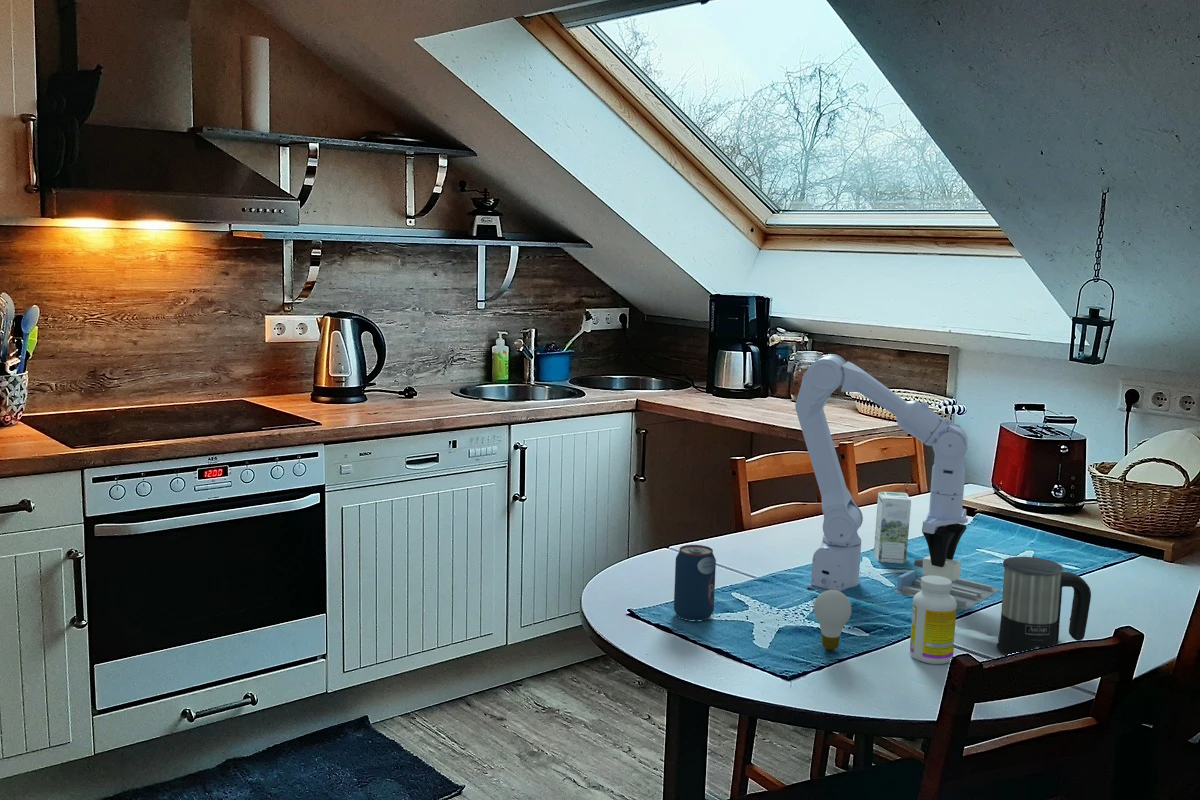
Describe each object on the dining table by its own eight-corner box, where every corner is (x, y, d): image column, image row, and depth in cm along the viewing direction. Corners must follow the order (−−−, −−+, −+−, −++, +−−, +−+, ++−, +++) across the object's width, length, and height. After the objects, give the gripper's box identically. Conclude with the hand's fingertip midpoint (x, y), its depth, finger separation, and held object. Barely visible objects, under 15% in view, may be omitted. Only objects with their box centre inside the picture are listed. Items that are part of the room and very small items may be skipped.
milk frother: (1019, 665, 170) (1027, 574, 167) (959, 629, 185) (966, 545, 182) (1094, 658, 174) (1103, 569, 171) (1030, 623, 189) (1038, 541, 186)
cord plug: (953, 580, 196) (954, 564, 195) (912, 571, 201) (912, 556, 201) (959, 577, 198) (960, 561, 198) (918, 568, 203) (919, 553, 203)
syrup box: (901, 559, 224) (906, 491, 222) (906, 568, 218) (911, 498, 216) (873, 558, 225) (877, 490, 222) (877, 566, 219) (882, 497, 217)
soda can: (718, 622, 185) (721, 554, 183) (679, 624, 184) (682, 555, 182) (706, 608, 192) (709, 543, 190) (668, 610, 190) (671, 544, 189)
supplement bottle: (961, 661, 171) (968, 583, 169) (931, 668, 167) (938, 589, 166) (929, 646, 176) (935, 571, 175) (900, 653, 173) (905, 576, 171)
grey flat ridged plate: (965, 615, 192) (966, 596, 191) (892, 596, 201) (893, 578, 200) (1000, 594, 204) (1001, 576, 203) (929, 577, 213) (930, 560, 212)
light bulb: (843, 643, 177) (847, 585, 175) (852, 657, 171) (856, 597, 169) (807, 643, 177) (811, 584, 175) (815, 657, 171) (819, 596, 169)
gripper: (951, 502, 188) (945, 577, 191) (984, 489, 199) (978, 560, 201) (913, 495, 193) (908, 568, 195) (947, 482, 204) (942, 552, 206)
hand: (941, 563), depth 199 cm, fingers closed on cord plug, 3 cm apart
